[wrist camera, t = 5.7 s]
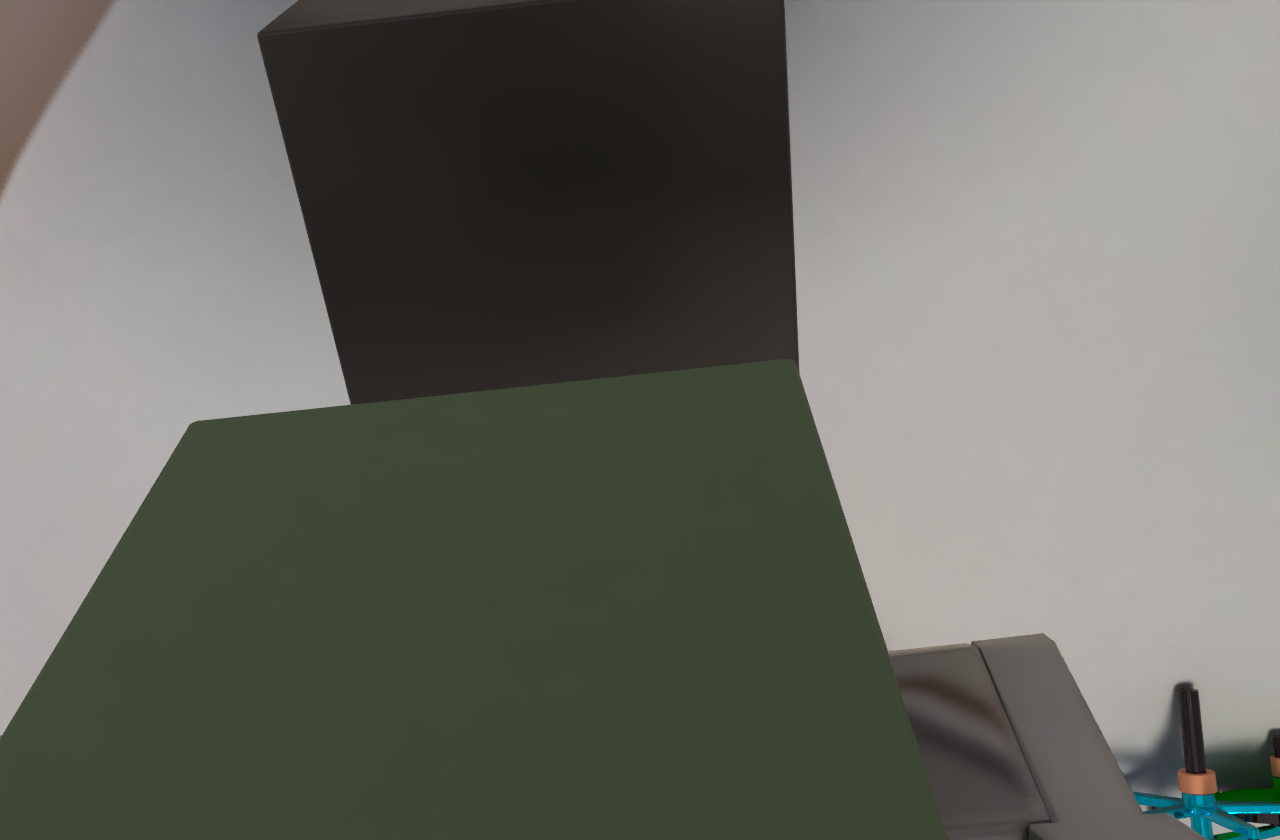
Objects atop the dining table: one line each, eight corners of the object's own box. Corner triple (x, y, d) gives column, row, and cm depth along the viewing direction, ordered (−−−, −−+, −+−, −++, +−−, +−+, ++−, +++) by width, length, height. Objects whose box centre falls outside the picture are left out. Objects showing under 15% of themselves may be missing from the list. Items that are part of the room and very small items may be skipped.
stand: (436, -112, 33) (255, 32, 16) (685, -141, 33) (783, -28, 15) (478, 134, 36) (368, 479, 19) (704, 109, 36) (802, 434, 19)
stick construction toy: (1058, 857, 50) (1202, 911, 43) (1043, 690, 50) (1182, 714, 43) (1273, 816, 54) (1438, 858, 47) (1257, 661, 54) (1418, 679, 47)
